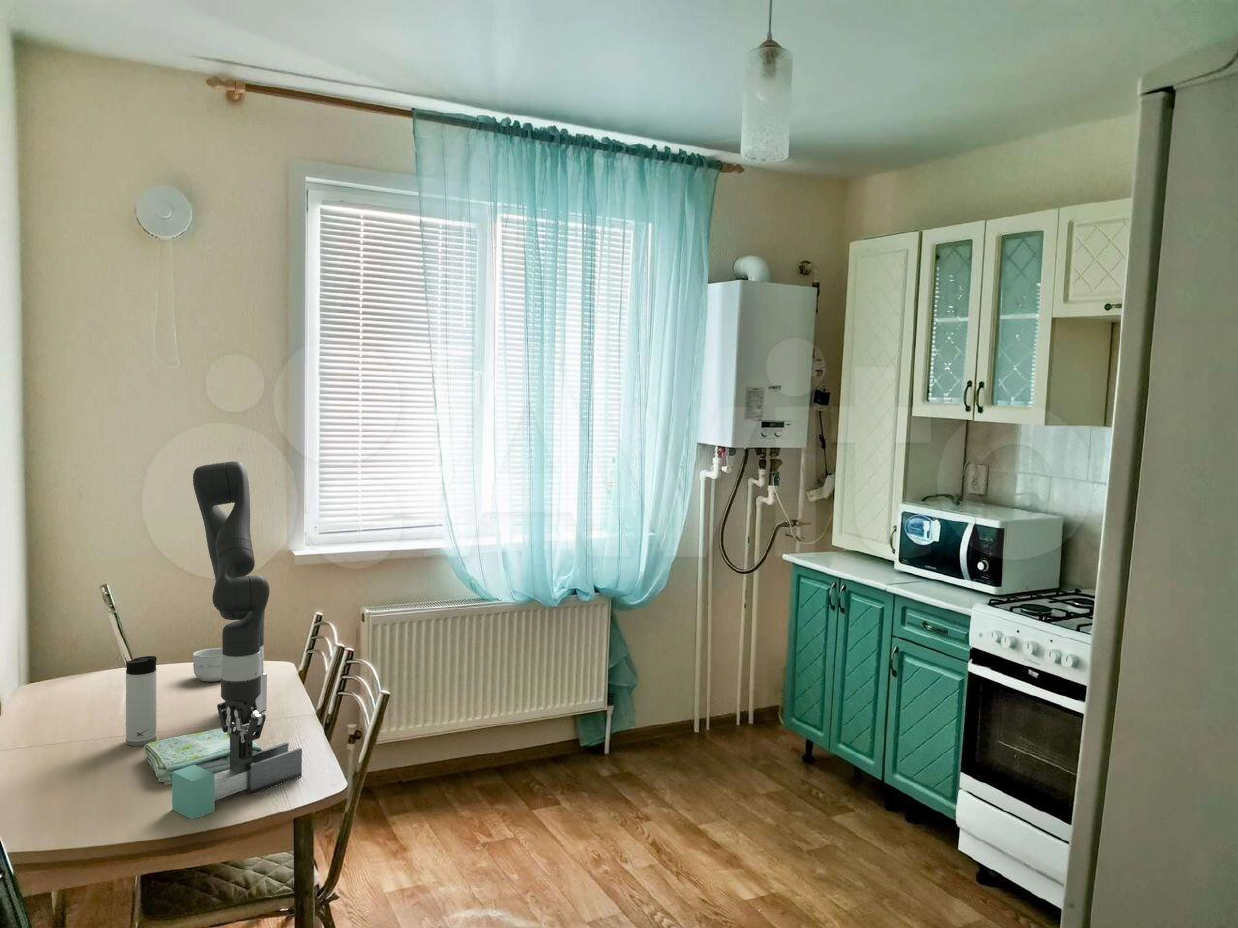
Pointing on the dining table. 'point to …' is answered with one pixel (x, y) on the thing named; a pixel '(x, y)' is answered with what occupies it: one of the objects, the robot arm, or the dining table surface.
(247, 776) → the inner bar
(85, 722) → the dining table surface
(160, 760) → the towel
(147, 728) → the travel mug
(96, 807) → the dining table surface
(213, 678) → the teacup
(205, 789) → the socket block
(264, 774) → the sleeve
